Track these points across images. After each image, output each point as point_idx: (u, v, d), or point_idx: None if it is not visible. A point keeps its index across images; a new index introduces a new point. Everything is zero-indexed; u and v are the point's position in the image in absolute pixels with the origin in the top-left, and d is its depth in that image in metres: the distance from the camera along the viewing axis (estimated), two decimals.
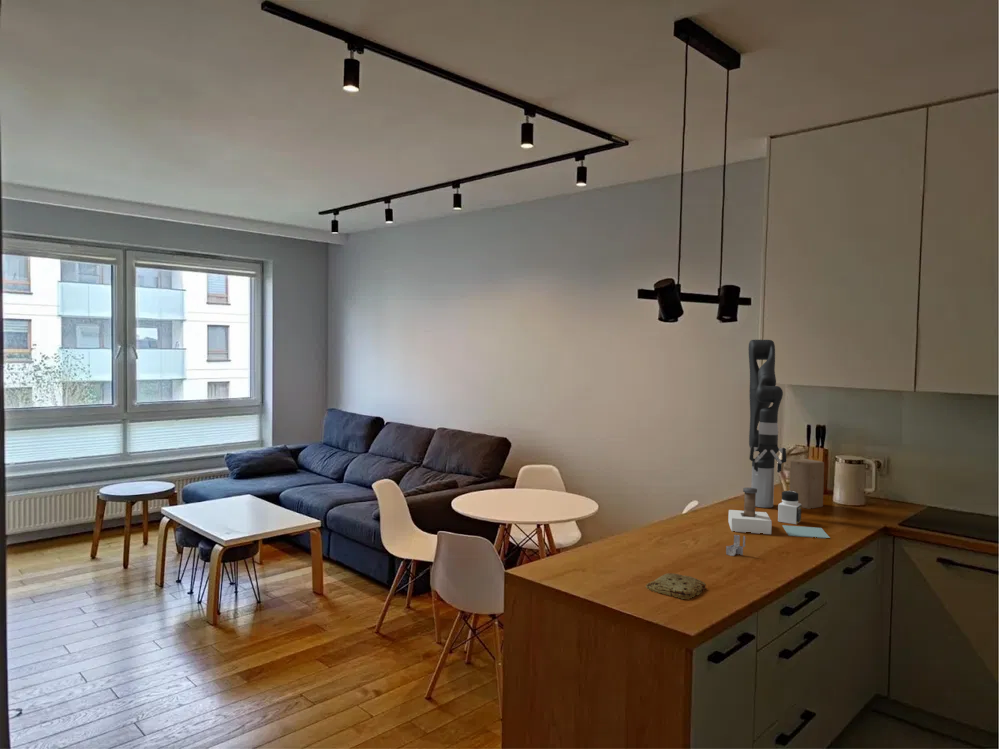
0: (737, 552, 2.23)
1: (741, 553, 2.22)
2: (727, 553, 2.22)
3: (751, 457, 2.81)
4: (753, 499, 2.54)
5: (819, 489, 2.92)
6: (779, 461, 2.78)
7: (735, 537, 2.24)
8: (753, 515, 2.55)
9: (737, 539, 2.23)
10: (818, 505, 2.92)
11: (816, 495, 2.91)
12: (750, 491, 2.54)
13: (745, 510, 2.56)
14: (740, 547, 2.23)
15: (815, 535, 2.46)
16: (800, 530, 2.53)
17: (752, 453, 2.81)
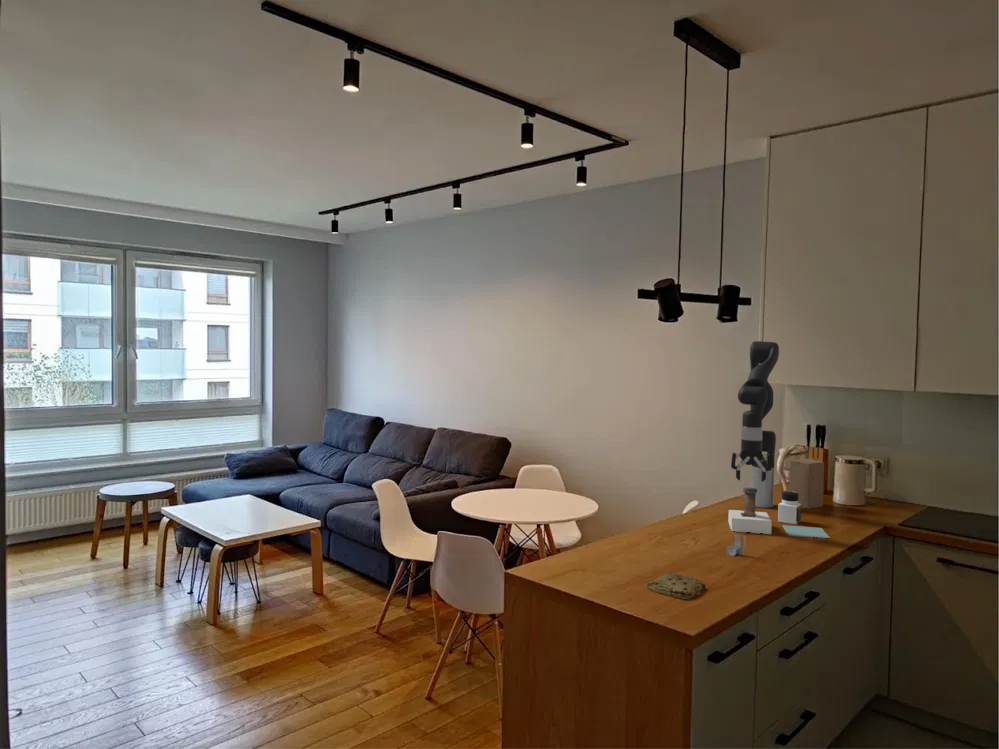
0: (738, 552, 2.23)
1: (742, 553, 2.22)
2: (728, 553, 2.22)
3: (733, 465, 2.56)
4: (753, 499, 2.54)
5: (819, 489, 2.92)
6: (763, 469, 2.53)
7: (735, 537, 2.24)
8: (753, 515, 2.55)
9: (738, 539, 2.23)
10: (818, 505, 2.92)
11: (816, 495, 2.91)
12: (750, 491, 2.54)
13: (745, 510, 2.56)
14: (741, 547, 2.22)
15: (815, 535, 2.46)
16: (800, 530, 2.53)
17: (734, 460, 2.56)
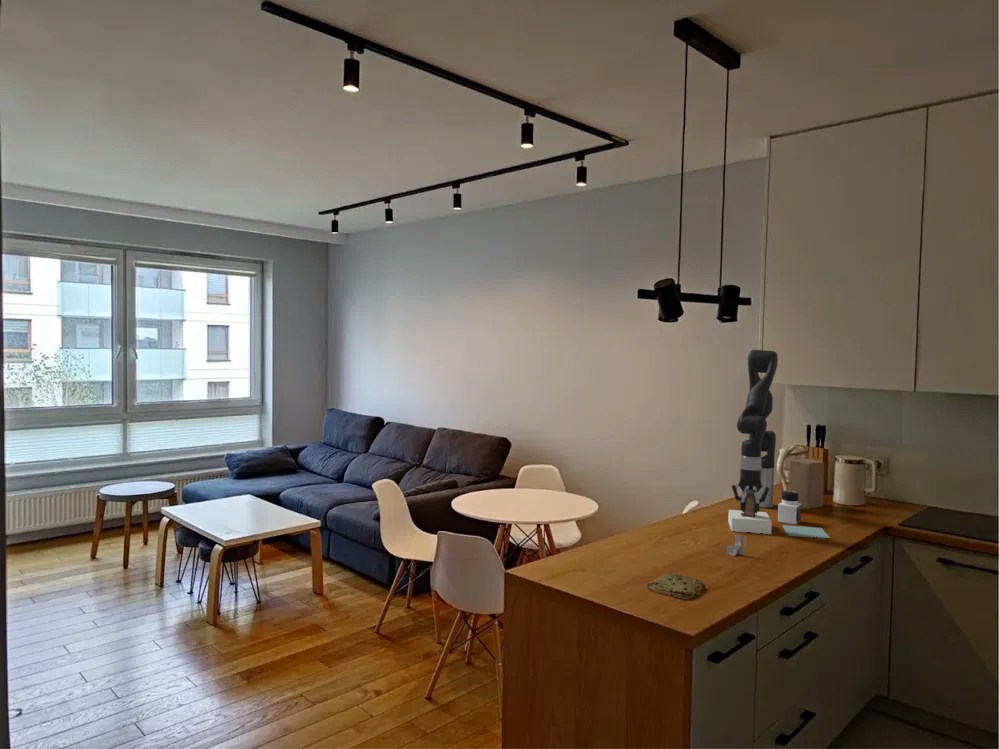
0: (738, 552, 2.23)
1: (742, 553, 2.22)
2: (728, 553, 2.22)
3: (736, 497, 2.56)
4: (753, 499, 2.54)
5: (819, 489, 2.92)
6: (757, 501, 2.54)
7: (736, 537, 2.24)
8: (753, 515, 2.55)
9: (738, 539, 2.23)
10: (818, 505, 2.92)
11: (816, 495, 2.91)
12: (750, 491, 2.54)
13: (745, 510, 2.56)
14: (741, 547, 2.22)
15: (815, 535, 2.46)
16: (800, 530, 2.53)
17: (736, 492, 2.56)
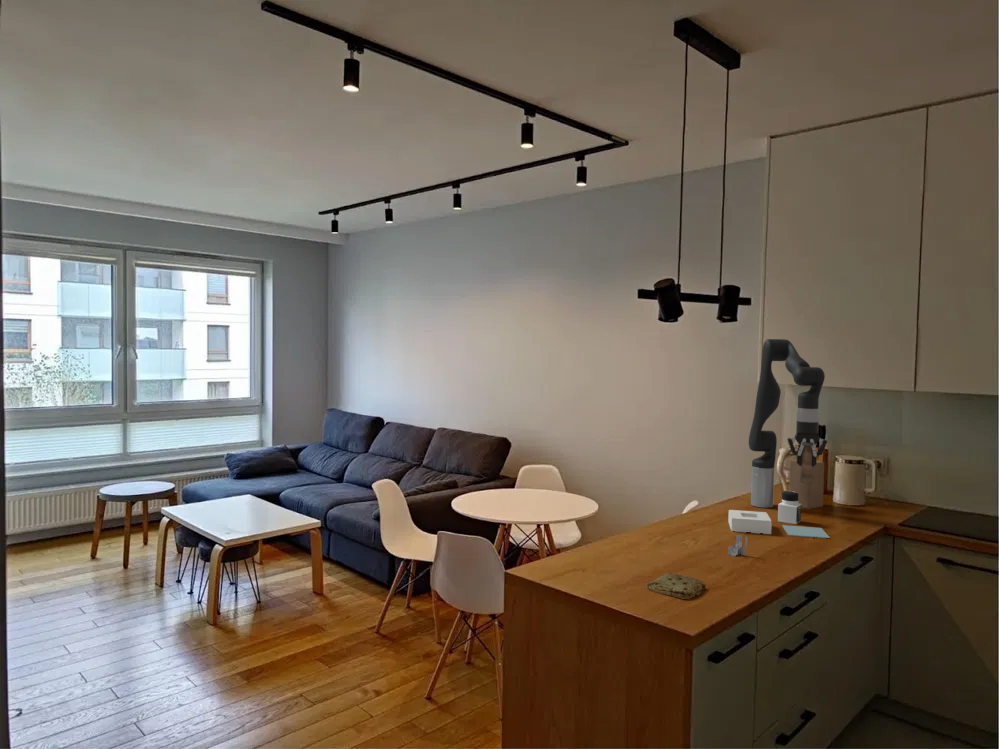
0: (739, 552, 2.23)
1: (743, 553, 2.22)
2: (729, 553, 2.22)
3: (793, 450, 2.51)
4: (810, 452, 2.49)
5: (819, 489, 2.92)
6: (814, 454, 2.49)
7: (737, 537, 2.23)
8: (810, 468, 2.49)
9: (740, 540, 2.23)
10: (818, 505, 2.92)
11: (816, 495, 2.91)
12: (807, 444, 2.48)
13: (802, 464, 2.50)
14: (742, 547, 2.22)
15: (815, 535, 2.46)
16: (800, 530, 2.53)
17: (792, 445, 2.51)
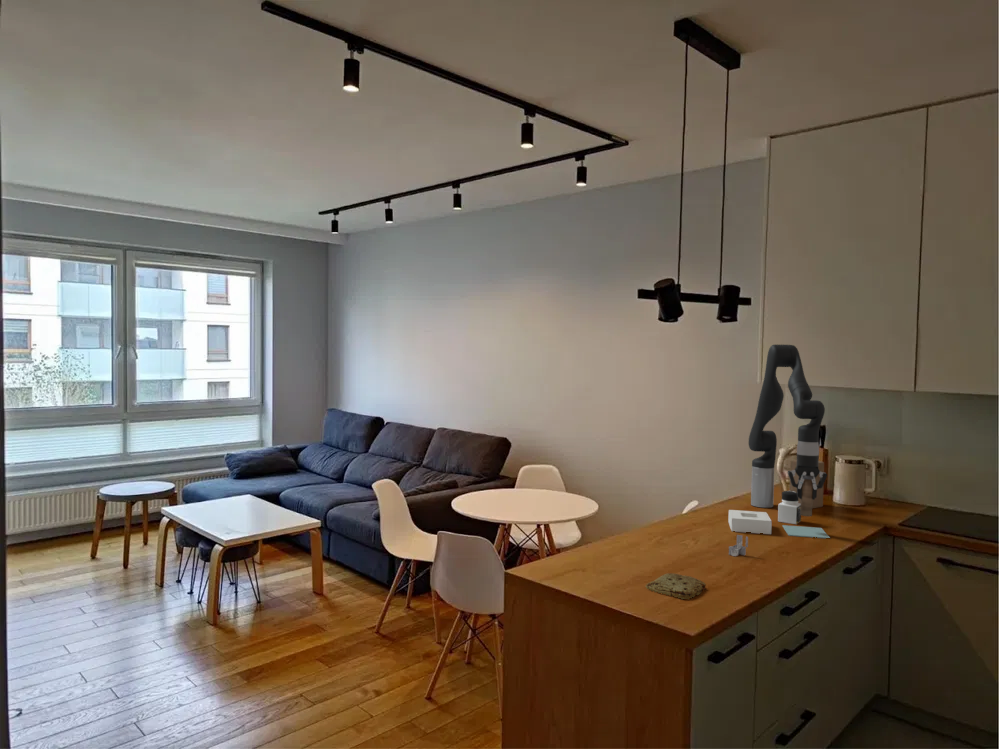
0: (740, 552, 2.23)
1: (744, 553, 2.22)
2: (730, 553, 2.22)
3: (793, 483, 2.51)
4: (811, 485, 2.49)
5: (819, 489, 2.92)
6: (814, 487, 2.49)
7: (738, 537, 2.23)
8: (810, 502, 2.49)
9: (740, 540, 2.23)
10: (818, 505, 2.92)
11: None
12: (808, 477, 2.49)
13: (802, 497, 2.50)
14: (743, 547, 2.22)
15: (815, 535, 2.46)
16: (800, 530, 2.53)
17: (792, 478, 2.51)
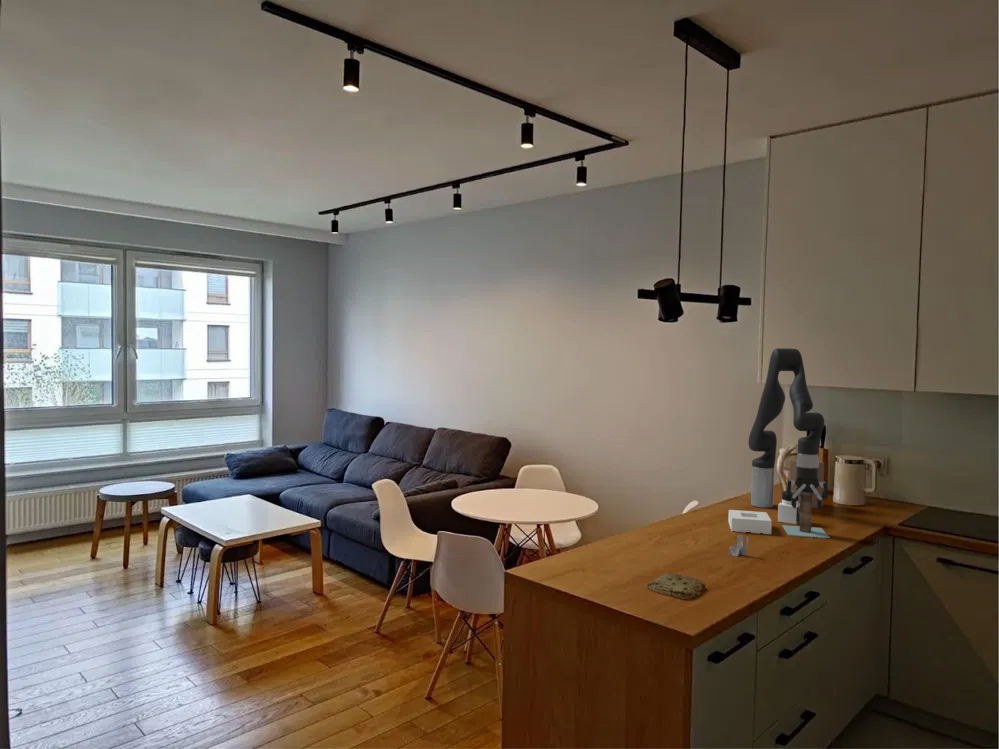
0: (740, 553, 2.23)
1: (744, 553, 2.22)
2: (730, 553, 2.22)
3: (788, 492, 2.52)
4: (810, 501, 2.49)
5: (819, 489, 2.92)
6: (819, 497, 2.49)
7: (738, 537, 2.23)
8: (810, 518, 2.50)
9: (741, 540, 2.23)
10: None
11: None
12: (807, 493, 2.49)
13: (801, 513, 2.51)
14: (743, 547, 2.22)
15: (815, 535, 2.46)
16: None
17: (789, 488, 2.51)
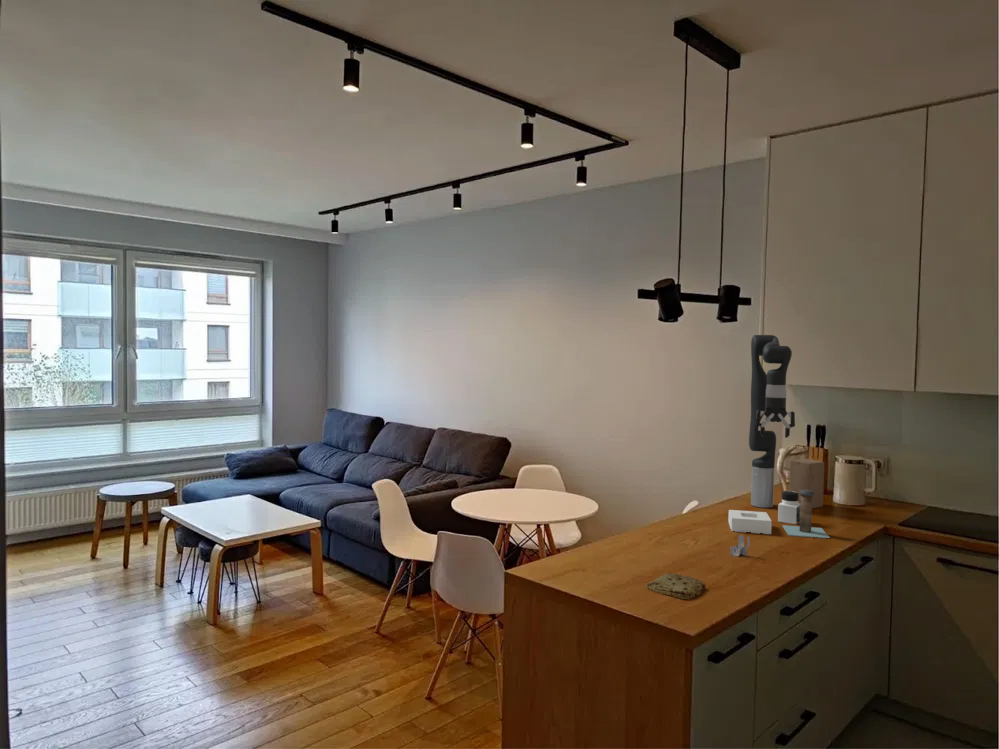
0: (742, 553, 2.23)
1: (745, 554, 2.22)
2: (731, 553, 2.22)
3: (757, 422, 2.65)
4: (810, 502, 2.49)
5: (819, 489, 2.92)
6: (787, 425, 2.62)
7: (739, 537, 2.23)
8: (810, 518, 2.50)
9: (742, 540, 2.23)
10: (818, 505, 2.92)
11: (816, 495, 2.91)
12: (807, 493, 2.49)
13: (801, 513, 2.51)
14: (744, 548, 2.22)
15: (815, 535, 2.46)
16: None
17: (758, 417, 2.65)
